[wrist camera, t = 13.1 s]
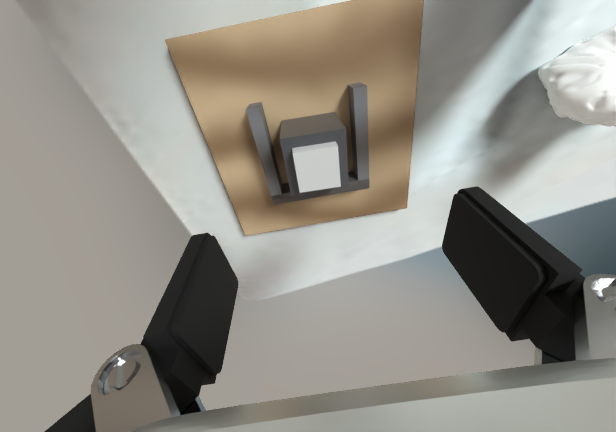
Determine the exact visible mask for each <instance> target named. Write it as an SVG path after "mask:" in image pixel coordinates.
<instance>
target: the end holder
mask: <svg viewBox="0 0 616 432" xmlns="http://www.w3.org/2000/svg"><path fill="white" fill-rule="evenodd" d="M423 5H424V0H350V1H346V2H341V3H336V4H332V5H327V6H322V7H317V8H313V9H308V10H303V11H299V12H294V13H289V14H284V15H280V16H275V17H270V18H266V19H261V20H256V21H251V22H247V23H242V24H237V25H233V26H228V27H223V28H218V29H214V30H209V31H204V32H200V33H195V34H190V35H185V36H181V37H176V38H171V39H167V40H165V42H166V44H167V47H168V49H169V52H170V54H171V56H172V59H173V61H174V64H175V66H176V69H177V71H178V73H179V76H180V78H181V81H182V83H183V86H184V88H185V90H186V93H187V95H188V98H189V100H190V102H191V105H192V107H193V110H194V112H195V115H196V117H197V119H198V122H199V124H200V127H201V129H202V132H203V134H204V136H205V139H206V141H207V144H208V146H209V149H210V151H211V153H212V156H213V158H214V161H215V163H216V166H217V168H218V170H219V173H220V175H221V178H222V180H223V183H224V185H225V187H226V190H227V192H228V195H229V197H230V199H231V202H232V204H233V207H234V209H235V212H236V214H237V216H238V219H239V221H240V224H241V226H242V229H243V231H244V233H245V236H246V235H252V234H258V233H264V232H270V231H276V230H281V229H287V228H293V227H299V226H305V225H311V224H317V223H323V222H329V221H334V220H340V219H346V218H352V217H358V216H364V215H370V214H376V213H382V212H388V211H393V210H399V209H405V208H407V201H408V188H409V176H410V164H411V152H412V139H413V127H414V115H415V103H416V90H417V78H418V66H419V54H420V41H421V29H422V17H423ZM331 112H335V113H336V114H337V116H338V117H339V119H340V120H341V122H342V123H343V125H344V126H345V128H346V139H347V160H348V180H349V188H342V189H336V190H329V191H323V192H316V193H309V194H303V195H296V196H291V192H290V187H289V182H288V178H287V173H286V168H285V163H284V158H283V154H282V149H281V144H280V131H281V122H282V120H287V119H294V118H300V117H306V116H312V115H318V114H324V113H331Z"/></svg>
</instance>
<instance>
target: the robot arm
mask: <svg viewBox="0 0 616 432" xmlns="http://www.w3.org/2000/svg"><path fill="white" fill-rule="evenodd" d="M442 249H443V252H444V254H445V255H446V257H447V258H448V259H449V261H450V262H451V264H452V265H453V266H454V268H455V269H456V271H457V272H458V273H459V275H460V276H461V278H462V279H463V280H464V282H465V283H466V285H467V286H468V288H469V289H470V290H471V292H472V293H473V295H474V296H475V297H476V299H477V300H478V302H479V303H480V304H481V306H482V307H483V309H484V310H485V312H486V313H487V314H488V315H489V317H490V319H491V320H492V321H493V323H494V324H495V326H496V327H497V328H498V329H499V330H500V331H501V332H505V333H506V334H507V336H508V337H509V339H510V340H511V341H517V340H524V339H530V340H531V341H532V342H533V344H534V345H535V360H534V365H533V366H524V367H516V368H509V369H501V370H493V371H486V372H478V373H471V374H464V375H456V376H448V377H440V378H433V379H426V380H418V381H411V382H404V383H397V384H389V385H381V386H375V387H367V388H360V389H352V390H345V391H338V392H330V393H323V394H316V395H310V396H302V397H296V398H289V399H281V400H274V401H267V402H260V403H253V404H246V405H239V406H233V407H227V408H221V409H214V410H208V411H206V410H205V408H204V406H203V404H202V402H201V400H200V398H199V393H200V389H201V385H207V384H214V383H215V380H216V375H217V373H220V371H221V369H222V365H223V359H224V354H225V350H226V345H227V340H228V334H229V329H230V325H231V320H232V315H233V310H234V305H235V299H236V294H237V289H238V280H237V277H236V275H235V273H234V271H233V270H232V268H231V266H230V264H229V262H228V260H227V258H226V256H225V255H224V253H223V251H222V249H221V247H220V245H219V243H218V241H217V240H216V238H215V237H214V236H211V235H210V234H209V233H204V234H198V235H193V236H192V237H191V238H190V240H189V242H188V245H187V247H186V249H185V251H184V253H183V255H182V257H181V259H180V261H179V263H178V265H177V268H176V270H175V272H174V274H173V276H172V278H171V280H170V282H169V284H168V286H167V288H166V291H165V293H164V295H163V297H162V299H161V301H160V303H159V305H158V307H157V309H156V312H155V314H154V316H153V318H152V320H151V322H150V324H149V326H148V328H147V330H146V332H145V334H144V336H143V337H144V338H143V340H142V342H141V344H134V345H130V346H127V347H124V348H122V349H121V350H119V351H117V352H116V353H114V354H113V355H112V356H111V357H110V358H109V359H107V361H106V362H105V363H104V364H103V365H102V366H101V368H100V369H99V370H98V372H97V374H96V375H95V377H94V380H93V382H92V385H91V394H90V395H89V396H87V397H86V398H85V399H84V400H82V401H81V402H80V403H79V404H78V405H76V406H75V407H74V408H73V409H72V410H70V411H69V412H68V413H67V414H65V415H64V416H63V417H62V418H61V419H59V420H58V421H57V422H56V423H55V424H53V425H52V426H51V427H50V428H49V429H47V430H46V431H45V432H616V276H615V275H610V274H594V275H590V276H588V277H587V278H584V277H583V276H582V275H581V274H580V272H581V271H582V269H581V268H580V267H578V266H577V265H576V264H575V263H573V262H572V261H571V260H570V259H568V258H567V257H566V256H565V255H563V254H562V253H561V252H559V251H558V250H557V249H556V248H555V247H553V246H552V245H551V244H549V243H548V242H547V241H546V240H545V239H543V238H542V237H541V236H540V235H538V234H537V233H536V232H535V231H533V230H532V229H531V228H530V227H528V226H527V225H526V224H525V223H523V222H522V221H521V220H520V219H518V218H517V217H516V216H515V215H514V214H512V213H511V212H510V211H509V210H507V209H506V208H505V207H504V206H502V205H501V204H500V203H499V202H497V201H496V200H495V199H494V198H492V197H491V196H490V195H489V194H487V193H486V192H485V191H484V190H482V189H481V188H479V187H471V188H465V189H461V190H459V191H458V193H457V194H455V195H454V197H453V201H452V205H451V209H450V214H449V218H448V222H447V227H446V231H445V235H444V239H443V244H442Z"/></svg>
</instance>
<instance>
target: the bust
mask: <svg viewBox="0 0 616 432" xmlns="http://www.w3.org/2000/svg"><path fill="white" fill-rule="evenodd" d="M538 76H539V78H540V80H541V81H542V83H543V85H544V87H545V88H546V89H547V94H548V98H549V99H550V100H549V104H550V105H552V108H553V110H554V111H555V113H556V115H557V116H559V117H561V118H564V117H569V118H571V119H572V120H574V121H579V122H582V123H583V124H586V125H604V126H616V25H614V26H612V27H610V28H608V29H606V30H604V31H602V32H600V33H598V34H596V35H594V36H592V37H590V38H588V39H585V40H582V41H580V42H577V43H576V44H574V45H573V46H572V47H570V48H569V49H568V50H567V51H566V52H565V53H564V54H562V55H560V56H558V57H556V58H554V59H553V60H551V61H549V62H547V63H545V64H543V65H542V66H541V67H540V69H539V70H538Z"/></svg>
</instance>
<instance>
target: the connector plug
mask: <svg viewBox="0 0 616 432" xmlns="http://www.w3.org/2000/svg"><path fill="white" fill-rule="evenodd" d="M280 144H281V149H282V154H283V158H284V163H285V168H286V173H287V178H288V182H289V187H290V192H291V196H296V195H303V194H309V193H316V192H323V191H329V190H336V189H342V188H349V180H348V160H347V139H346V128H345V126H344V125H343V123H342V122H341V120H340V119H339V117H338V116H337V114H336V113H335V112H331V113H324V114H318V115H312V116H306V117H300V118H294V119H287V120H282V122H281V131H280Z"/></svg>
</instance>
